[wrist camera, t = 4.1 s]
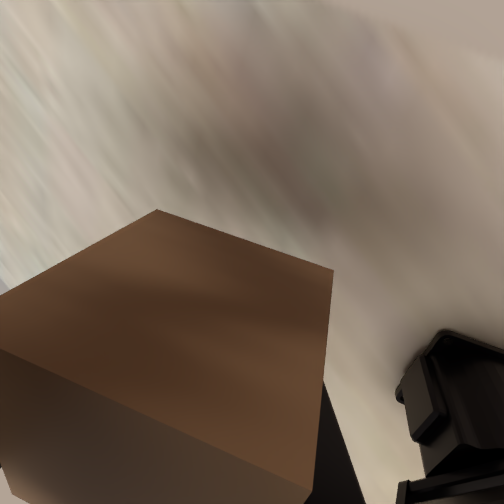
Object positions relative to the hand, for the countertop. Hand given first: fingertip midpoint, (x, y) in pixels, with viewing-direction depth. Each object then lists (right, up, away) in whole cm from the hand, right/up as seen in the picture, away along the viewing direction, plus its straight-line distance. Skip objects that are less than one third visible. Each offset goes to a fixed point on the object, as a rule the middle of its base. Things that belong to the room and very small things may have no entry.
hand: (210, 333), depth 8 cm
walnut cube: (0, 0, +1) cm, 1 cm away
